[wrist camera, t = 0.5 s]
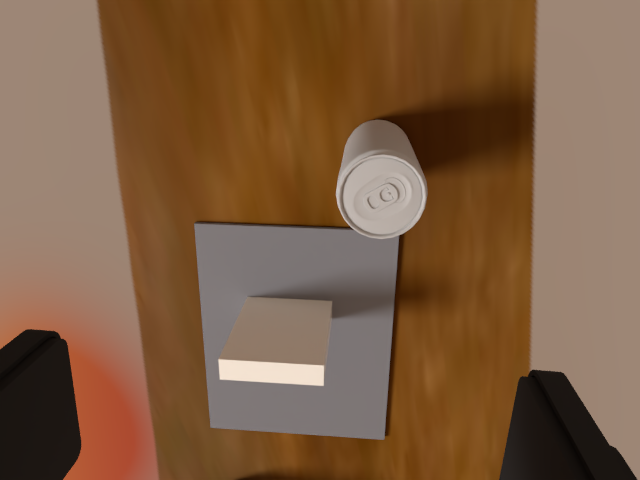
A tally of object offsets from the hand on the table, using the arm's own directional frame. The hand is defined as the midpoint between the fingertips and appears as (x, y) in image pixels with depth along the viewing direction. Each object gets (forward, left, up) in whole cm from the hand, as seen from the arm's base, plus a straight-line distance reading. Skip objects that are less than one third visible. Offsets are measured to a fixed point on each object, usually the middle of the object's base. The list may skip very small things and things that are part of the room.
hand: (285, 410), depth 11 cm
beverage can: (0, +2, -29) cm, 29 cm away
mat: (+16, -4, -29) cm, 34 cm away
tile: (+13, -4, -29) cm, 32 cm away
